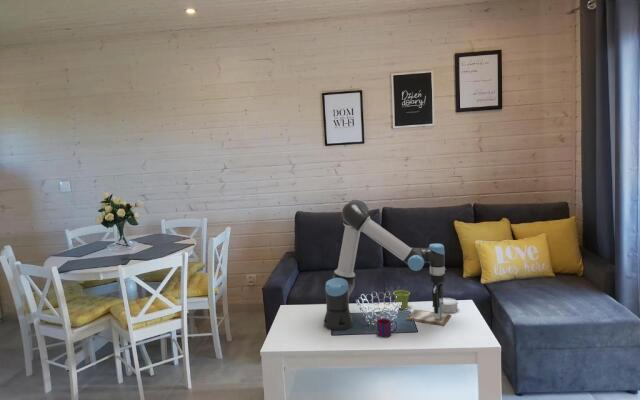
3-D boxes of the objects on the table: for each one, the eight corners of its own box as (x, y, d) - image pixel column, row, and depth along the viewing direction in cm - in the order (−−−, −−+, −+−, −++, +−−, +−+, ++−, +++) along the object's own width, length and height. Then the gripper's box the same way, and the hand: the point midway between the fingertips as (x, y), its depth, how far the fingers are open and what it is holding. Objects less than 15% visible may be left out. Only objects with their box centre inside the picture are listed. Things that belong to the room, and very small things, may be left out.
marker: (433, 318, 230) (433, 299, 229) (435, 316, 233) (435, 297, 232) (440, 319, 229) (440, 300, 228) (442, 317, 232) (441, 298, 231)
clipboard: (406, 320, 233) (405, 317, 233) (414, 310, 246) (414, 308, 246) (444, 325, 223) (444, 323, 223) (451, 315, 236) (451, 313, 236)
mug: (376, 332, 220) (376, 318, 219) (397, 331, 219) (396, 318, 218) (377, 337, 213) (377, 324, 212) (398, 337, 212) (398, 323, 212)
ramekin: (457, 307, 248) (457, 298, 248) (458, 314, 238) (458, 304, 237) (436, 306, 251) (436, 297, 251) (436, 313, 241) (436, 304, 240)
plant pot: (400, 303, 258) (399, 289, 257) (413, 307, 251) (413, 292, 250) (390, 308, 252) (389, 293, 251) (403, 311, 245) (403, 296, 244)
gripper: (440, 278, 220) (441, 324, 222) (448, 270, 234) (449, 313, 236) (425, 277, 223) (426, 322, 226) (434, 269, 237) (435, 311, 240)
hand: (438, 317), depth 231 cm, fingers closed on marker, 3 cm apart
